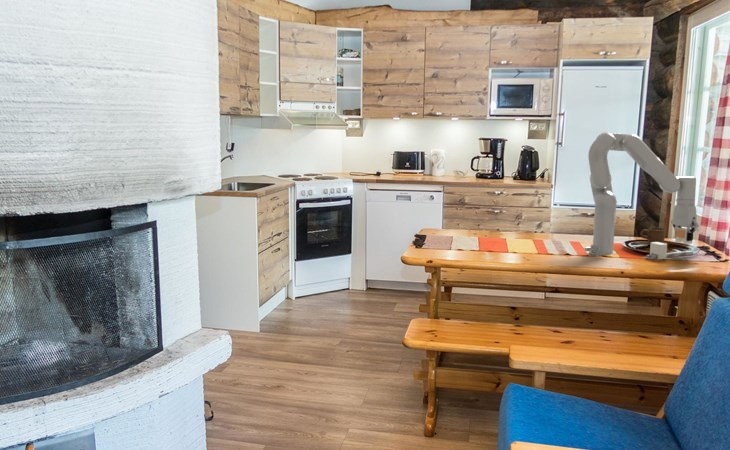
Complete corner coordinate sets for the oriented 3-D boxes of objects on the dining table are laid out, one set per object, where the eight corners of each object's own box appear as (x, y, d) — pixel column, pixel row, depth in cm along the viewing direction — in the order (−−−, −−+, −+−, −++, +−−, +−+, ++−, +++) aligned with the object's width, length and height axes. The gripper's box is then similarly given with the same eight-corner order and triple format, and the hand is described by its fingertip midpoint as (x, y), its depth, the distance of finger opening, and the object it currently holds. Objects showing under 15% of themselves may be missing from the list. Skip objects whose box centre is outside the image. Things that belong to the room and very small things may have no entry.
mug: (642, 247, 300) (643, 230, 298) (637, 244, 307) (638, 227, 306) (666, 248, 298) (667, 230, 297) (660, 245, 306) (661, 227, 304)
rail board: (653, 262, 267) (653, 256, 267) (641, 259, 274) (642, 253, 273) (696, 258, 275) (697, 252, 274) (684, 255, 281) (685, 249, 281)
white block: (659, 259, 269) (660, 244, 267) (649, 256, 274) (650, 242, 273) (667, 258, 270) (668, 244, 269) (657, 255, 276) (658, 241, 274)
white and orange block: (684, 244, 271) (685, 229, 270) (674, 242, 277) (675, 227, 276) (692, 243, 273) (692, 228, 271) (681, 241, 278) (682, 227, 277)
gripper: (665, 201, 279) (663, 237, 282) (694, 204, 262) (692, 243, 265) (677, 199, 281) (675, 235, 284) (707, 203, 265) (705, 241, 267)
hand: (683, 239), depth 275 cm, fingers closed on white and orange block, 6 cm apart
